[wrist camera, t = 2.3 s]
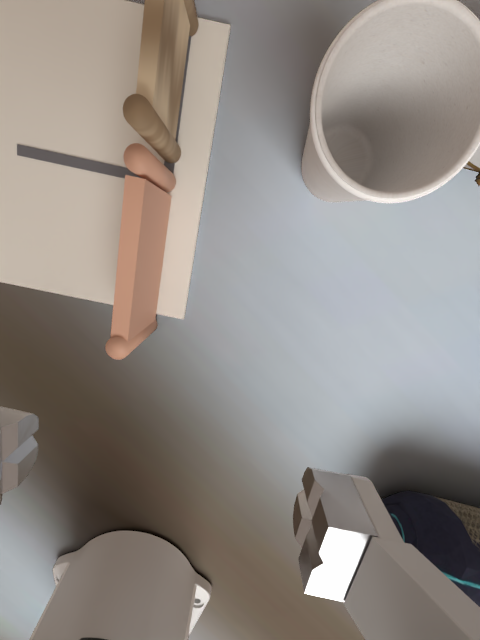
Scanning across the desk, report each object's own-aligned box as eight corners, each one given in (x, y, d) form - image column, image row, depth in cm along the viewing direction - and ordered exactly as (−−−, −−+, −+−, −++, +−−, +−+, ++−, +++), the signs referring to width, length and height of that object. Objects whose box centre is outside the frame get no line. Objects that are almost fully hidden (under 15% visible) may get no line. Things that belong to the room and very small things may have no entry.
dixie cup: (276, 118, 22) (298, 15, 12) (386, 91, 21) (505, -40, 11) (292, 229, 24) (323, 218, 14) (394, 208, 23) (499, 181, 13)
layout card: (184, 318, 26) (183, 319, 25) (-12, 278, 25) (-17, 278, 25) (230, 29, 20) (230, 23, 20) (-20, -30, 20) (-27, -37, 19)
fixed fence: (180, 166, 23) (150, 130, 16) (160, 161, 22) (121, 124, 16) (200, 14, 20) (175, -109, 13) (178, 9, 20) (141, -117, 13)
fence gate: (157, 168, 22) (123, 139, 16) (177, 173, 22) (151, 145, 16) (138, 330, 26) (104, 357, 20) (156, 333, 26) (127, 361, 20)
